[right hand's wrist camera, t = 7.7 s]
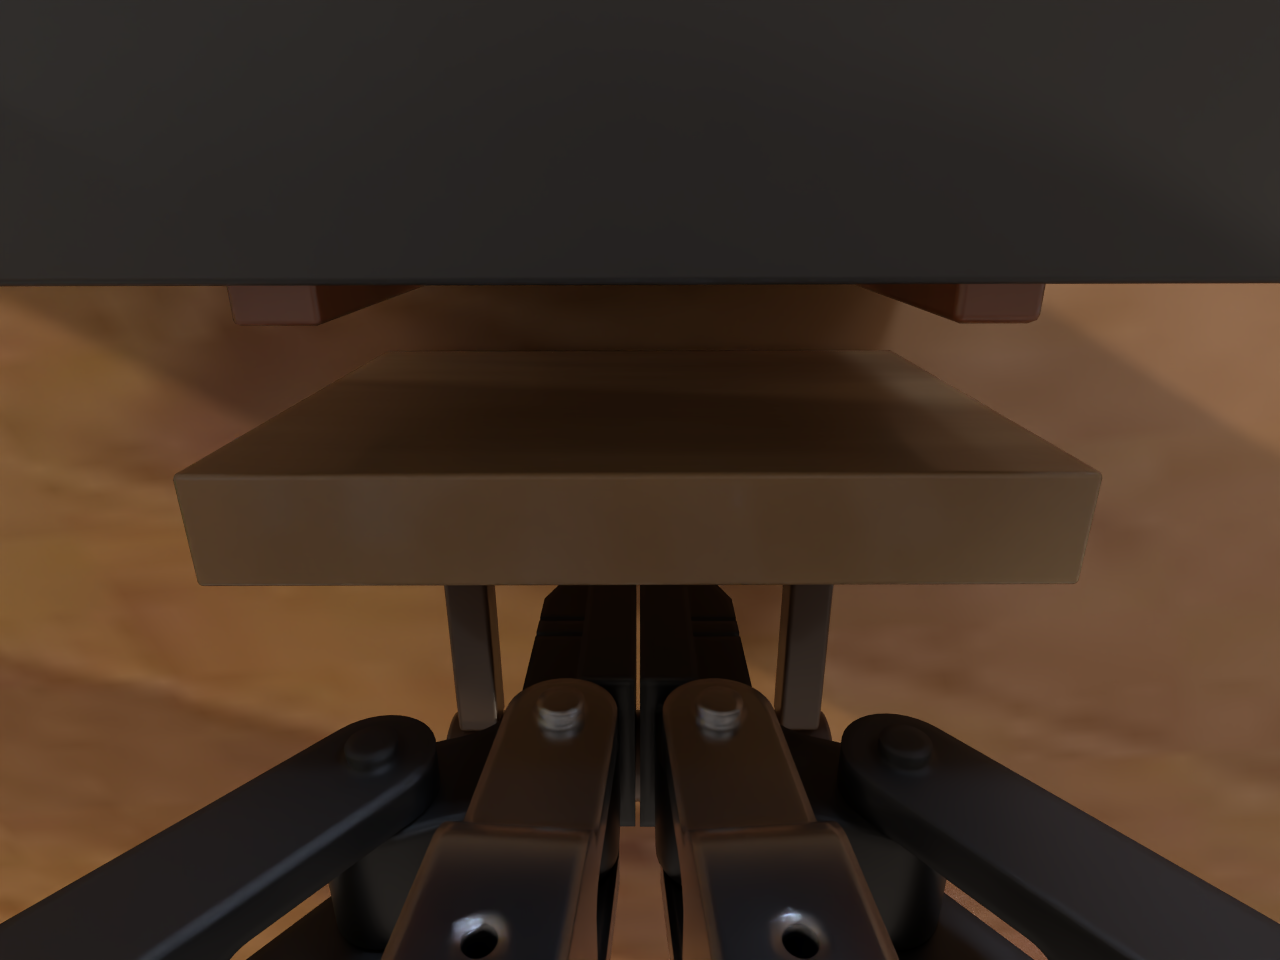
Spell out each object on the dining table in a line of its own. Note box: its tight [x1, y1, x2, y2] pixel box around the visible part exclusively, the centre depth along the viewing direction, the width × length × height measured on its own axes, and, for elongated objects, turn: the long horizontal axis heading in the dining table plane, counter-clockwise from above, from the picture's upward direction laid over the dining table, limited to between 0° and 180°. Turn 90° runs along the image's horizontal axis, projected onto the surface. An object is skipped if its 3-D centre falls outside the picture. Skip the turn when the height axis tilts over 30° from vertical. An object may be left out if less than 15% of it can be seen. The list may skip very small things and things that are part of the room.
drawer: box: [173, 284, 1102, 801], centre depth 9 cm, size 20×9×6 cm, turn 0°
